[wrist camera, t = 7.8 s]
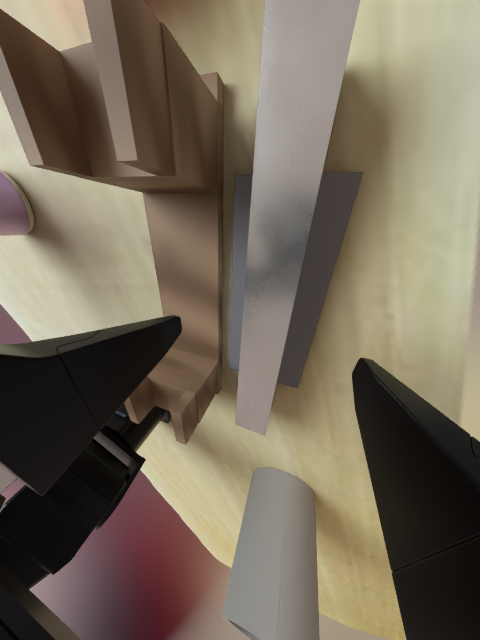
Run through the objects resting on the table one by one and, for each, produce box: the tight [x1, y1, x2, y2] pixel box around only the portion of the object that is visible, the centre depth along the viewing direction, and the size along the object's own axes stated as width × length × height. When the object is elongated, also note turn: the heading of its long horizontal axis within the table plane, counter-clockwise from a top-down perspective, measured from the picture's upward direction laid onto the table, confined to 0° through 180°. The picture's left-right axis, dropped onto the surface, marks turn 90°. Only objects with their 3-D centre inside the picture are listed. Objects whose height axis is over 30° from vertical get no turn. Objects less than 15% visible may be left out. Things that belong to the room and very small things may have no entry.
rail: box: [235, 0, 360, 435], centre depth 12 cm, size 24×3×3 cm, turn 177°
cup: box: [222, 468, 319, 640], centre depth 21 cm, size 9×9×12 cm
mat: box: [229, 172, 363, 388], centre depth 14 cm, size 16×7×1 cm, turn 177°
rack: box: [0, 0, 224, 445], centre depth 13 cm, size 24×6×7 cm, turn 177°
